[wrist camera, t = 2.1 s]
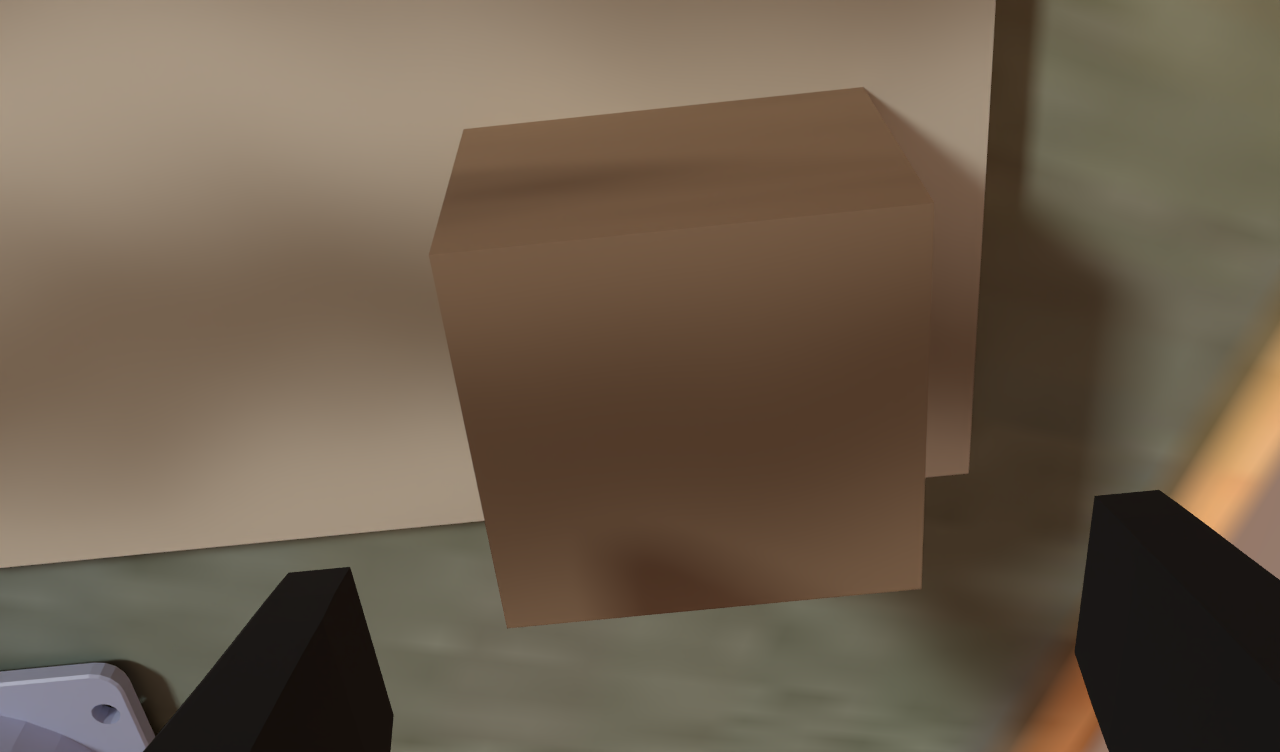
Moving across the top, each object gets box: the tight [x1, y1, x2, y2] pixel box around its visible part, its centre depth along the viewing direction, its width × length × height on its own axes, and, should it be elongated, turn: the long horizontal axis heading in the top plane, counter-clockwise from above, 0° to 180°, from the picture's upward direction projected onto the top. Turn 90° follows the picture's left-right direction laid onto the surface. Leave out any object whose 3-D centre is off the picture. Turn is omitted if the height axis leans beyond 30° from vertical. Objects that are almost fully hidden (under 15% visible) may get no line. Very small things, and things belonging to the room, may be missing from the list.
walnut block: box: [429, 87, 935, 628], centre depth 16 cm, size 6×6×4 cm
